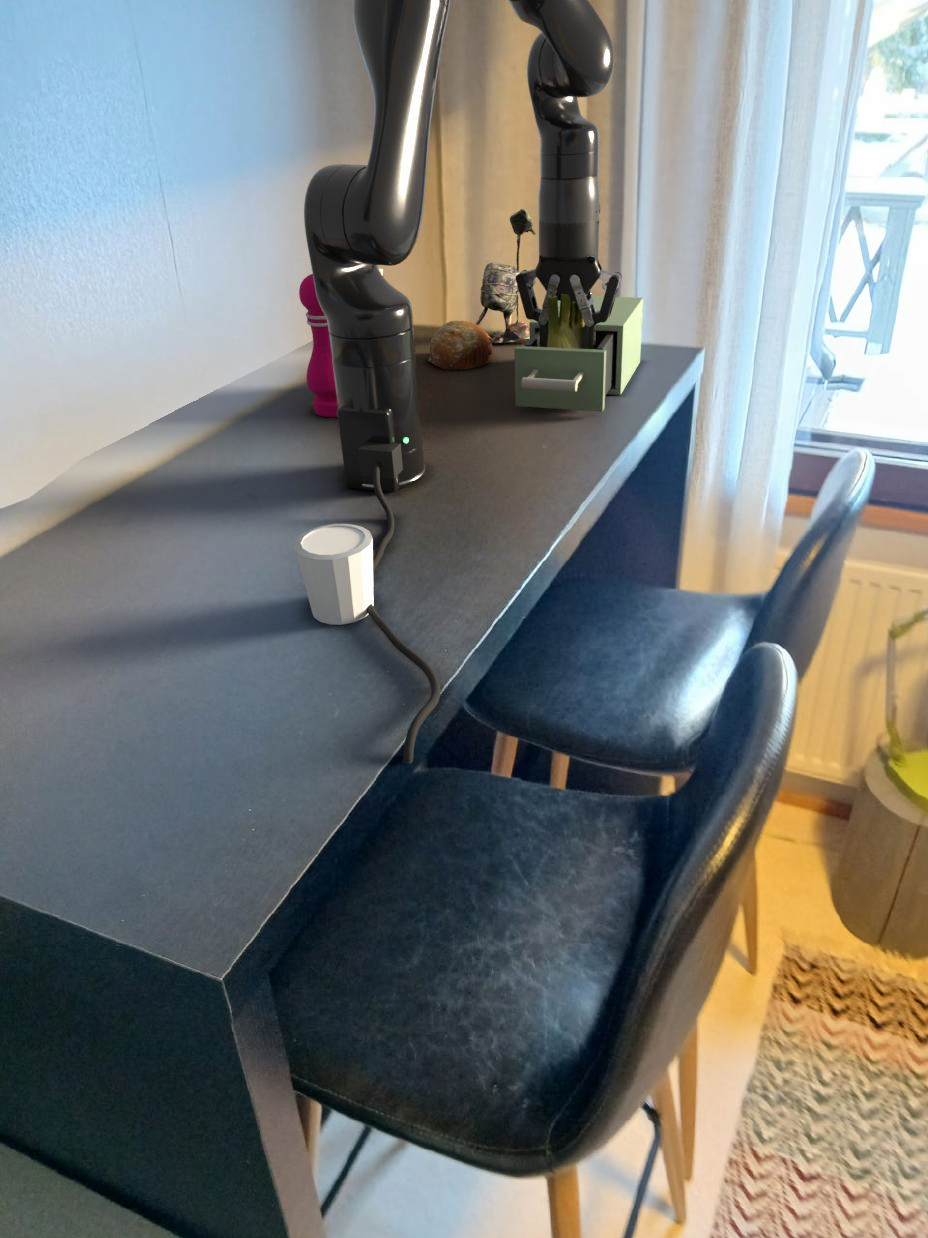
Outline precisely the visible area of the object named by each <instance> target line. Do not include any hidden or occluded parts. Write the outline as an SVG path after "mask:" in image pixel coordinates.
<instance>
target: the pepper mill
mask: <svg viewBox="0 0 928 1238" xmlns="http://www.w3.org/2000/svg"><path fill="white" fill-rule="evenodd" d="M298 289H299V290H298V296H299V300H300V304H301V305H302V306H303V307H304V308H305V309H306V310H307V311H306V312H305V317H306V324H307V325H309V326H310V329H311V330H310V331H311V334H312V351H311V355H310V359H309V361H308V365H307V369H306V385H307V387H308V388H307V389H309V390H310V391H311V393H313V394H314V395H315V396H314V397H313V400H312V403H313V404H312V405H313V409H314V410H313V411H314V413H315V414H316V415H317V416H320V417H324V418H338V415H337V410H338V402H337V394H336V386H335V378H334V370H333V362H332V353H331V345H330V337H329V330H328V323H327V319H326V316H325V314H324V312H323V311H322V309H321V307H320V305H319V302H318V299H317V295H316V290H315V284H314V278H313V273H311V274H308V275H307V276H305V278H304V279H302V281H301V282H300V285H299V288H298Z"/></svg>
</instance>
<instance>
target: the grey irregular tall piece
mask: <svg viewBox="0 0 928 1238" xmlns="http://www.w3.org/2000/svg"><path fill="white" fill-rule="evenodd" d="M509 222H510V226H511V229H512V230H513V233H514V234H515V235H517V236H516V245H517V246H516V247H517V248H516V266H512V265H507V264H503V263H500V262H498V261H497V262H495V261H493V262H490V261H489V260H486V261H485V262H486V263H487V264H486V265H485V268H484V271H483V276H482V277H483V278H482V279H481V280H482V281H481V282H482V284H481V287H480V297H479V300H480V305H481V306H482V307H483V310H482V312H481V313H480V315H479V317H478V320H477V321H476V322H475V324H476V325H478V326H480V324H481V322H483V319H484V318H485V316H486V314H487V313H488V310H491V311H495V312H500V313H502V316H503V319H504V324H505V325H504V326H505V330H503V329H502V330H497V331H493V332H492V333H491V338H492V339H493V343H494V344H498V343H500V344H506V343H513V342H517V341H520V340H530V335H529V328H530V327H529V325H528V324H527V322H526V321H519V295H520V294H519V290H518V286H517V283H516V276H517V275H518V274H519V273H520V272H521V270H520V249H521V236H522V235H524V234H525V233H529V232H530V233H531V234H532V235H534V236H535V235H536V232H535V230H534V229H533V226H534V223H533V220H532V217H530V215H529V212H528V211H527V210H526V209H525V208H520V210H518V211H517V212H514V213H513V214H512V215H511V216H510V217H509ZM489 262H490V263H489ZM515 310H516V317H517V319H516V321H515V322H512V316H513V315H512V314H513V313H514V311H515Z"/></svg>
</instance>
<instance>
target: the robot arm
mask: <svg viewBox="0 0 928 1238" xmlns="http://www.w3.org/2000/svg"><path fill="white" fill-rule="evenodd" d="M451 2H452V1H451V0H352V20H353V26H354V31H355V35H356V39H357V42H358V43H357V44H358V46H359V49H360V53H361V55H362V59H363V62H364V65H365V68H366V71H367V75H368V78H369V81H370V85H371V89H372V94H373V95H372V96H373V102H374V118H373V119H374V120H373V131H372V138H371V145H370V152H369V157H368V161H367V164H350V163H349V164H348V163H346V164H345V163H344V164H343V163H340V164H339V163H338V164H330V165H329V164H328V165H325V166H322V167H321V168H320V169H319V170H317V171H316V172H315V173H314V174H313V176H312V178H311V179H310V181H309V183H308V185H307V187H306V191H305V195H304V202H303V203H304V204H303V222H304V223H303V224H304V232H305V238H306V245H307V251H308V256H309V261H310V268H311V272H312V273H311V274H313V278H314V284H315V290H316V295H317V299H318V302H319V305H320V307H321V309H322V311H323V312H324V314H325V316H326V319H327V323H328V330H329V337H330V345H331V353H332V362H333V370H334V378H335V386H336V394H337V402H338V410H337V415H338V417H337V423H338V430H339V438H340V448H341V454H342V455H341V456H342V460H343V462H342V463H343V469H344V478H345V484H346V485H345V486H346V488H349V489H359V490H366V491H367V490H368V491H374V492H375V495H376V498H377V500H378V502H379V504H380V505H381V507H382V508H383V510H384V514H385V516H386V521H387V531H386V533H385V534H384V536H383V537H382V539H381V540H380V542H379V543H378V546H377V548H376V551H375V553H374V554H373V573H374V572H375V570H376V568H377V567H378V565H379V563H380V561H381V560H382V557H383V555H384V552H385V550H386V548H387V545H388V543H389V542H390V541H391V539H392V538H393V535H394V531H395V519H394V513H393V510H392V507H391V506H390V504H389V502H388V500H387V499H386V497H385V495H384V493H383V492H387V493H396V492H397V491H398V490H399V489H402V488H405V487H408V486H411V485H413V484H416V483H417V482H420V480H422V479H423V478H424V476H426V472H427V471H426V464H425V457H424V444H423V432H422V420H421V407H420V395H419V393H420V392H419V380H418V379H419V378H418V368H417V355H416V354H417V353H416V341H415V328H414V315H413V306H412V303H411V301H410V299H409V298H408V296H407V295H406V294H404V293H403V292H401V291H400V290H398V288H396V287H394V286H393V285H392V284H390V283H389V281H388V280H386V279H385V277H383V276H384V275H383V276H382V274H381V273H380V271H379V269H380V268H379V266H381V267H383V266H384V267H390V266H397V265H400V264H402V263H403V262H404V261H405V260H407V259H408V257H409V256H410V255H411V253H412V252H413V250H414V248H415V246H416V244H417V242H418V238H419V234H420V231H421V227H422V226H421V225H422V222H423V215H424V208H425V198H426V196H425V195H426V186H427V176H428V175H427V174H428V173H427V172H428V162H429V161H428V159H429V147H430V134H431V126H432V125H431V123H432V117H433V109H434V100H435V95H436V87H437V82H438V81H437V80H438V73H439V67H440V60H441V55H442V47H443V43H444V38H445V32H446V28H447V23H448V19H449V12H450V7H451ZM508 2H509V5H510V6H511V9H512V10H513V12H514V14H515V15H516V17H517V18H518V19H519V20H520V21H522V22H523V23H525V24H528V25H530V26H532V27H534V28H536V29H537V30H539V31H540V33H539V34H538V35H537V36H536V37H535V39H534V41H533V42H532V45H531V47H530V50H529V53H528V57H527V66H526V77H527V86H528V91H529V96H530V101H531V107H532V110H533V115H534V120H535V124H536V128H537V131H538V134H539V135H538V136H539V139H540V149H539V150H540V151H539V152H540V153H539V155H540V157H539V158H540V159H539V160H540V161H539V162H540V163H539V164H540V165H539V167H540V170H539V171H540V175H539V176H540V178H539V181H540V182H539V190H538V261H537V265H536V267H535V268H534V269H530V270H527V269H523V270H520V273H519V274H518V275H517V276H516V283H517V286H518V290H519V294H518V295H519V297H520V300H521V304H522V307H523V308H522V309H523V311H524V312H523V313H524V315H525V318H526V319H527V320H529V321H531V320H535V321H537V322H538V323H539V326H540V346H541V347H547V342H548V328H549V313H548V296H550V295H552V297H553V296H557V298H558V301H560V300H561V294H567V295H569V296H570V300H571V301H577V304H578V307H579V310H580V311H581V313H582V316H583V320H584V323H585V325H584V326H583V340H582V349H593V348H594V346H595V344H596V324H598V323H600V322H602V323H603V322H606V320H607V319H608V318H609V317H610V315H611V312H612V309H613V305H614V302H615V299H616V297H617V295H618V292H619V289H620V285H621V282H622V279H623V275H622V273H621V272H620V271H615V272H611V271H608V270H604V269H603V267H602V265H601V263H600V260H599V243H600V241H599V239H600V238H599V237H600V236H599V235H600V214H601V204H600V199H601V195H600V185H599V158H600V157H599V156H600V155H599V154H600V153H599V152H600V151H599V150H600V138H599V130H598V127H597V126H596V124H595V123H594V122H592V121H591V120H589V119H586V118H585V117H584V116H583V115H582V114H581V110H580V106H579V101H578V98H589V97H594V96H597V95H598V94H599V93H601V92H602V91H603V90H604V89H605V88H606V87H607V86H608V84H609V83H610V80H611V78H612V77H613V73H614V72H613V71H614V65H615V55H614V47H613V43H612V39H611V36H610V33H609V31H608V30H607V27H606V25H605V23H604V22H603V20H602V18H601V17H600V15H599V13H598V12H597V10H596V9H595V8H594V6H593V4H592V3H591V1H590V0H508ZM536 279H538V281H539V282H540V284H541V285H542V287H543V288H544V290H545V291H546V293H545V295H544V299H543V301H542V305H541V306H542V308H541V309H540V308H539V305H538V300H537V297H536V294H535V289H534V286H535V285H536V283H537V282H536ZM598 280H600V281H601V288H602V289H603V291H605V292H604V295H603V297H604V299H603V302H602V305H601V309H600V311H598V312H596V310H595V307H594V300H593V296H594V295H593V294H592V288H593V287H594V286H595V284H596V283H597V281H598ZM581 299H582V300H581ZM367 612H368V613H369V614H368V615H369V616H370V618H371V619H372V620H373V622H374V624H376V626H378V628H379V629H380V630H381V631H382V633H383V634H384V635H385V636H386V638H387V639H388V640H389V641H390V643H391V644H392V645H393V646H394V648H396V650H397V651H399V652H400V653H402V654H403V656H404V657H406V658H408V659H409V660H410V661H411V662H412V663H413V664H415V665H416V666H417V667H418V668H420V670H421V671H422V673H424V674H425V676H426V678H427V679H428V682H429V686H430V691H431V694H430V697H429V698H428V700H427V702H426V703H425V704H424V705H423V707H421V709H419V711H418V712H417V713H416V715H415V716H414V718H413V719H412V720H411V723H410V725H409V726H408V729H407V731H406V736H405V740H404V745H403V755H402V756H403V757H402V758H403V759H402V763H403V764H405V765H411V764H412V763H413V761H414V753H415V752H414V751H415V744H416V740H417V737H418V733H419V731H420V729H421V727H422V726H423V724H424V722H425V721H426V719H427V718H428V717H429V715H430V714H431V713H432V712H433V711H434V709H436V707H437V705H438V704H439V702H440V699H441V693H442V691H441V683H440V681H439V678H438V675H437V674H436V673H435V670H434V669H433V668H432V667H431V666H430V664H429V663H428V662H427V661H426V660H425V659H424V658H423V657H422V656H420V654H418V653H416V652H415V651H414V650H412V649H411V648H410V647H409V646H407V644H406V643H404V642H403V641H402V640H401V639H400V638H399V637H398V636H397V635H396V633H395V632H394V631H393V630H392V628H391V627H390V625H388V623H387V622H386V621H385V620H384V618H382V616H381V615H380V614H379V612H378V611H377V610H376V609H375V607H374V606H373V605H372V604H370V605H369V606H368V608H367Z"/></svg>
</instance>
